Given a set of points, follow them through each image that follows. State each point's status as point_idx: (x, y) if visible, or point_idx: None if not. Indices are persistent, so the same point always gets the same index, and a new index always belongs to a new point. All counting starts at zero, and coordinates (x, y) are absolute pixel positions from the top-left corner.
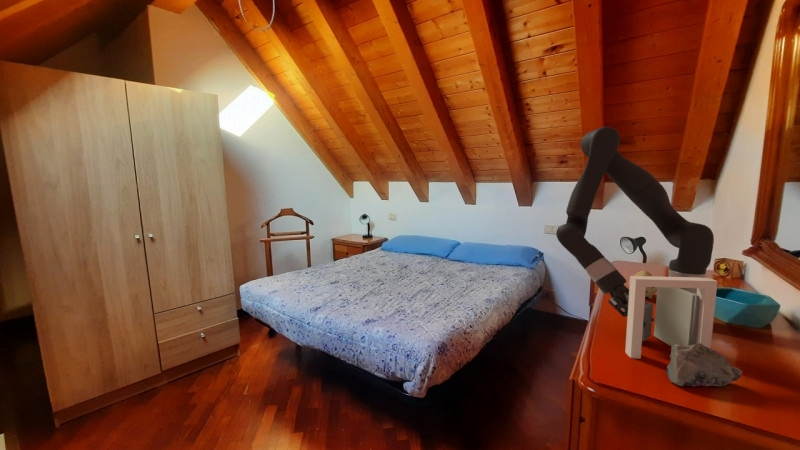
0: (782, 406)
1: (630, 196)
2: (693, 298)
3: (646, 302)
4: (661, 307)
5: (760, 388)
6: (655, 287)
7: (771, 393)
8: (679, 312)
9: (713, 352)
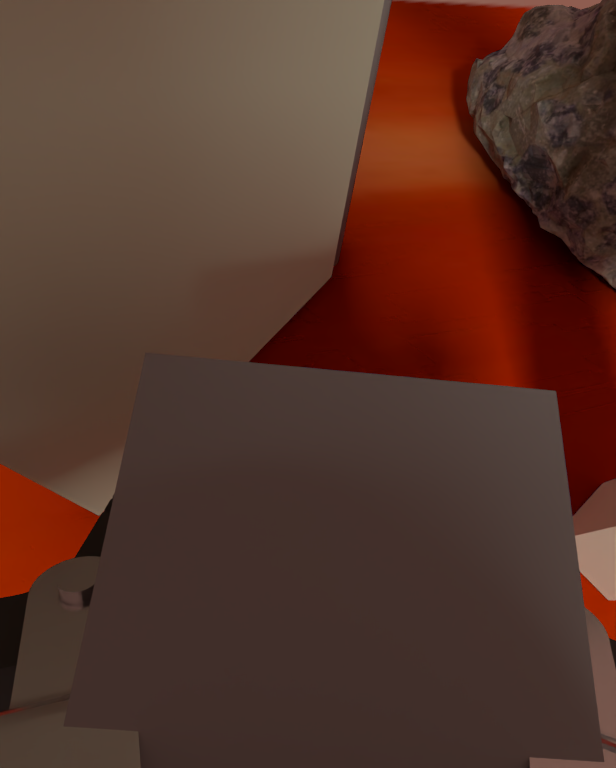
0: (497, 22)
1: None
2: None
3: (154, 487)
4: (13, 304)
5: (407, 59)
6: None
7: (419, 38)
8: (280, 43)
9: None
